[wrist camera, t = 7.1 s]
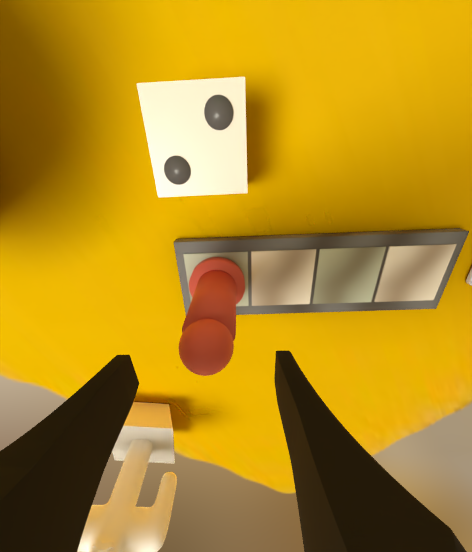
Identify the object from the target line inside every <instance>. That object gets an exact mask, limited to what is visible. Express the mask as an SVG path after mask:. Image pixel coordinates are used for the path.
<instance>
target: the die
mask: <svg viewBox="0 0 472 552" xmlns="http://www.w3.org/2000/svg"><path fill="white" fill-rule="evenodd" d="M136 84H137V89H138V94H139V99H140V104H141V110H142V115H143V120H144V125H145V131H146V136H147V141H148V146H149V152H150V157H151V162H152V167H153V173H154V178H155V183H156V188H157V194H158V197H176V196H197V195H218V194H238V193H248V189H247V142H246V96H245V77H233V78H217V79H200V80H183V81H167V82H150V83H136Z"/></svg>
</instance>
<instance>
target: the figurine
mask: <svg viewBox="0 0 472 552" xmlns="http://www.w3.org/2000/svg"><path fill="white" fill-rule="evenodd" d="M112 452H113V456H114V459H115V460H120V461H124V463H123V465H122V468H121V471H120V473H119V476H118V478H117V481H116V484H115V487H114V489H113V492H112V494H111V497H110V500H109V502H108V503H107V504H105V505H92V506H91V509H90V512H89V515H88V518H87V521H86V524H85V527H84V530H83V534H82V537H81V540H80V544H79V547H78V550H77V551H78V552H157V551H158V550H159V549H160V548H161V546H162V545H163V543H164V540H165V537H166V534H167V531H168V526H169V522H170V517H171V511H172V506H173V500H174V496H175V490H176V484H177V477H176V475H175V474H174V473H173V472H167V473H165V474H164V475H163V477H162V479H161V483H160V487H159V491H158V495H157V498H156V501H155V503H154V505H153V506H152V507H135V506H136V503H137V500H138V496H139V493H140V489H141V486H142V483H143V479H144V476H145V473H146V469H147V466H148V463H149V462H157V463H158V462H159V463H175V462H174V461H175V460H174V441H173V426H172V420H171V413H170V407H169V404H160V403H144V402H133V405H132V407H131V409H130V412H129V414H128V416H127V419H126V421H125V423H124V425H123V428H122V430H121V432H120V434H119V437H118V439H117V441H116V443H115V446H114V448H113V450H112Z"/></svg>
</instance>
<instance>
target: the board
mask: <svg viewBox="0 0 472 552" xmlns="http://www.w3.org/2000/svg"><path fill="white" fill-rule="evenodd" d="M468 233H469V231H466V230H463V229H460V228H454V229H427V230H401V231H375V232H348V233H322V234H295V235H269V236H243V237H216V238H190V239H176V240H175V241H174V247H175V253H176V259H177V265H178V271H179V276H180V282H181V288H182V294H183V300H184V306H185V312H186V315H187V312H188V309H189V307H190V304H191V301H192V298H193V297H192V296H191V293H190V290H189V280H190V277H191V274H192V272H193V270H194V268H195V267H196V266H197V264H199V263H200V262H201V261H203V260H205V259H207V258H211V257H223V258H227V259H229V260H231V261H233V262H234V263H236V264H237V265H238V266H239V267H240V269H241V270H242V272H243V274H244V279H245V292H244V295H243V297H242V299H241V300H240V302H239V303H238V304H236V315H243V314H275V313H308V312H341V311H374V310H406V309H436V308H437V305H438V303H439V301H440V298H441V296H442V294H443V291H444V289H445V287H446V284H447V282H448V280H449V277H450V275H451V273H452V270H453V268H454V266H455V263H456V261H457V259H458V256H459V254H460V252H461V249H462V247H463V245H464V242H465V240H466V238H467V235H468Z"/></svg>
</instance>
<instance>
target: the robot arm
mask: <svg viewBox="0 0 472 552" xmlns="http://www.w3.org/2000/svg"><path fill="white" fill-rule="evenodd" d="M466 283H468V284H469V285H472V268H471V271H470V273H469V275H468V277H467V279H466ZM138 385H139V382H138V379H137V376H136V373H135V370H134V367H133V364H132V361H131V358H130V355H117V356H116V357H115V358H113V359H112V360H111V361H110V362H109V363H108V364H107V365H106V366H105V367H103V368H102V369H101V370H100V371H99V372H98V373H97V374H96V375H95V376H94V377H93V378H91V379H90V380H89V381H88V382H87V383H86V384H85V385H84V386H83V387H81V388H80V389H79V390H78V391H77V392H76V393H75V394H74V395H72V396H71V397H70V398H69V399H68V400H66V401H65V402H64V403H63V404H62V405H61V406H59V407H58V408H57V409H56V410H55V411H54V412H52V413H51V414H50V415H49V416H47V417H46V418H45V419H44V420H42V421H41V422H40V423H38V424H37V425H36V426H35V427H33V428H32V429H31V430H30V431H28V432H27V433H25V434H24V435H23V436H21V437H20V438H19V439H17V440H16V441H14V442H13V443H12V444H10V445H9V446H7V447H6V448H4V449H3V450H1V451H0V552H77V550H78V547H79V544H80V540H81V537H82V534H83V530H84V527H85V524H86V521H87V518H88V515H89V512H90V509H91V506H92V503H93V500H94V497H95V494H96V491H97V488H98V485H99V483H100V480H101V477H102V474H103V471H104V469H105V466H106V464H107V462H108V459H109V457H110V454H111V452H112V450H113V448H114V446H115V443H116V441H117V439H118V437H119V434H120V432H121V430H122V428H123V425H124V423H125V421H126V419H127V416H128V414H129V412H130V409H131V407H132V405H133V401H134V398H135V395H136V392H137V389H138ZM275 387H276V395H277V402H278V407H279V411H280V415H281V420H282V424H283V428H284V433H285V437H286V441H287V446H288V450H289V454H290V459H291V464H292V469H293V476H294V482H295V489H296V495H297V502H298V509H299V516H300V523H301V530H302V537H303V544H304V551H305V552H466V551H465V549H464V547H463V546H462V545H461V543H460V542H459V540H458V539H457V538H456V536H455V535H454V533H453V532H452V530H451V529H450V528H449V527H448V526H447V525H445V524H444V523H443V522H442V521H441V520H440V519H439V518H438V517H436V516H435V515H434V514H433V513H432V512H430V511H429V510H428V509H427V508H426V507H425V506H424V505H422V504H421V503H420V502H419V501H418V500H417V499H416V498H414V496H412V495H411V494H410V493H409V492H408V491H407V490H406V489H405V488H404V487H403V486H402V485H400V484H399V483H398V482H397V481H396V480H395V479H394V478H393V477H392V476H391V475H390V474H389V473H388V472H387V471H386V470H385V469H384V468H383V467H382V466H381V465H379V464H378V462H377V461H376V460H374V458H373V457H372V456H371V455H370V454H369V453H368V452H367V451H366V450H365V449H364V448H363V447H362V446H361V445H360V444H359V443H358V442H357V441H356V440H355V439H354V438H353V437H352V436H351V434H350V433H349V432H348V431H347V430H346V429H345V428H344V427H343V425H342V424H341V423H340V422H339V421H338V420H337V418H336V417H335V416H334V415H333V413H332V412H331V411H330V410H329V408H328V407H327V406H326V405H325V403H324V402H323V401H322V399H321V398H320V397H319V395H318V394H317V393H316V391H315V390H314V388H313V387H312V386H311V384H310V383H309V381H308V380H307V378H306V377H305V375H304V374H303V372H302V371H301V369H300V368H299V366H298V364H297V363H296V361H295V359H294V357H293V356H292V354H291V352H290V351H276V363H275Z"/></svg>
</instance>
